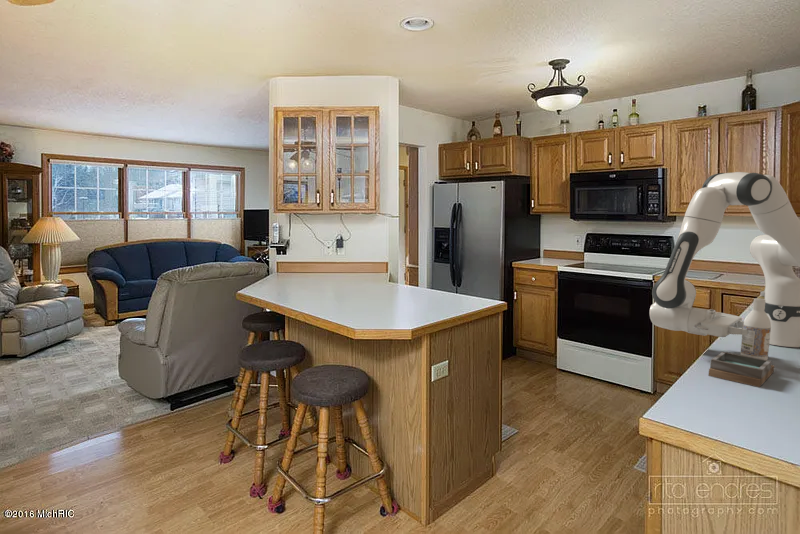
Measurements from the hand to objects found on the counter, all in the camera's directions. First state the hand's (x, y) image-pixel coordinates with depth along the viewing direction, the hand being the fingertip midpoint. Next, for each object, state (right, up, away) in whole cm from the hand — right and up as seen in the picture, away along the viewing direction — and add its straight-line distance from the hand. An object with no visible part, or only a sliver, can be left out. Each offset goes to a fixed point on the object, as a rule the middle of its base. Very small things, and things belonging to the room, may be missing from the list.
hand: (751, 329), depth 151 cm
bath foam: (+1, -10, 0) cm, 10 cm away
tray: (-12, -11, -12) cm, 20 cm away
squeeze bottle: (+39, -5, +46) cm, 60 cm away
